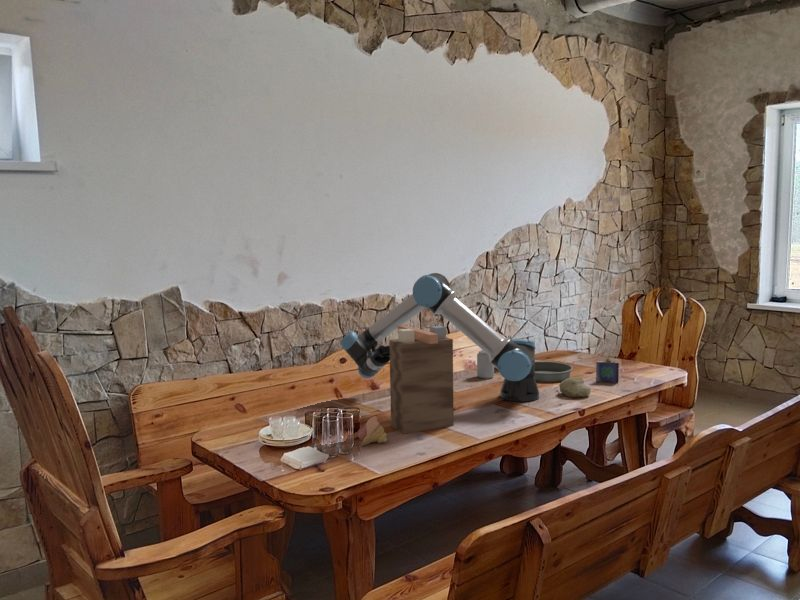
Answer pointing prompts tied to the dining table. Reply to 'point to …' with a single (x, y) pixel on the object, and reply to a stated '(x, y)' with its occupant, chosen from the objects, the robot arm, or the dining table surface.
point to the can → (484, 365)
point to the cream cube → (406, 335)
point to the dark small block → (607, 371)
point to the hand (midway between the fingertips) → (398, 337)
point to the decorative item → (574, 387)
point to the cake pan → (551, 371)
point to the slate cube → (439, 331)
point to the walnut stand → (421, 385)
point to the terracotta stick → (422, 334)
